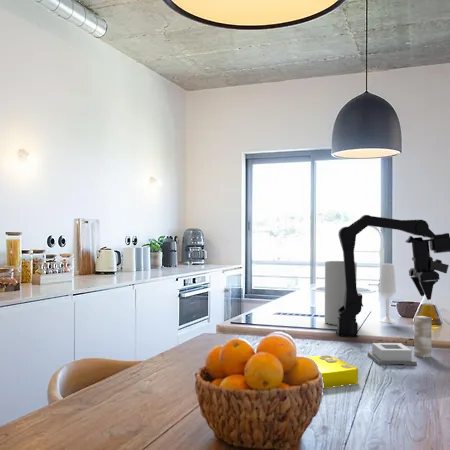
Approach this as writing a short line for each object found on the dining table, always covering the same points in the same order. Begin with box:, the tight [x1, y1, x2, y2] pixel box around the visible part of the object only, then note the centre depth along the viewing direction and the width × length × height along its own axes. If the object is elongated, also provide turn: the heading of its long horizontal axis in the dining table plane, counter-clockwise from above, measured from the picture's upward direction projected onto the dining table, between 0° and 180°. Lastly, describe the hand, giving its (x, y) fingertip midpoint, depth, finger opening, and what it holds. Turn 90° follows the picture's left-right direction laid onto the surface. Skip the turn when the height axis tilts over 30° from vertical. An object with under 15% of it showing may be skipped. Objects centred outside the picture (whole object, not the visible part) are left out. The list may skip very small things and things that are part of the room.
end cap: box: [367, 342, 418, 366], centre depth 152 cm, size 11×11×4 cm
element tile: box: [307, 354, 359, 389], centre depth 134 cm, size 15×15×5 cm
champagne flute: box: [378, 263, 397, 324], centre depth 213 cm, size 7×7×24 cm
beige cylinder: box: [413, 315, 433, 359], centre depth 157 cm, size 4×4×12 cm
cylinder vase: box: [324, 260, 358, 326], centre depth 208 cm, size 12×12×25 cm
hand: (425, 297), depth 182 cm, fingers open, 9 cm apart
